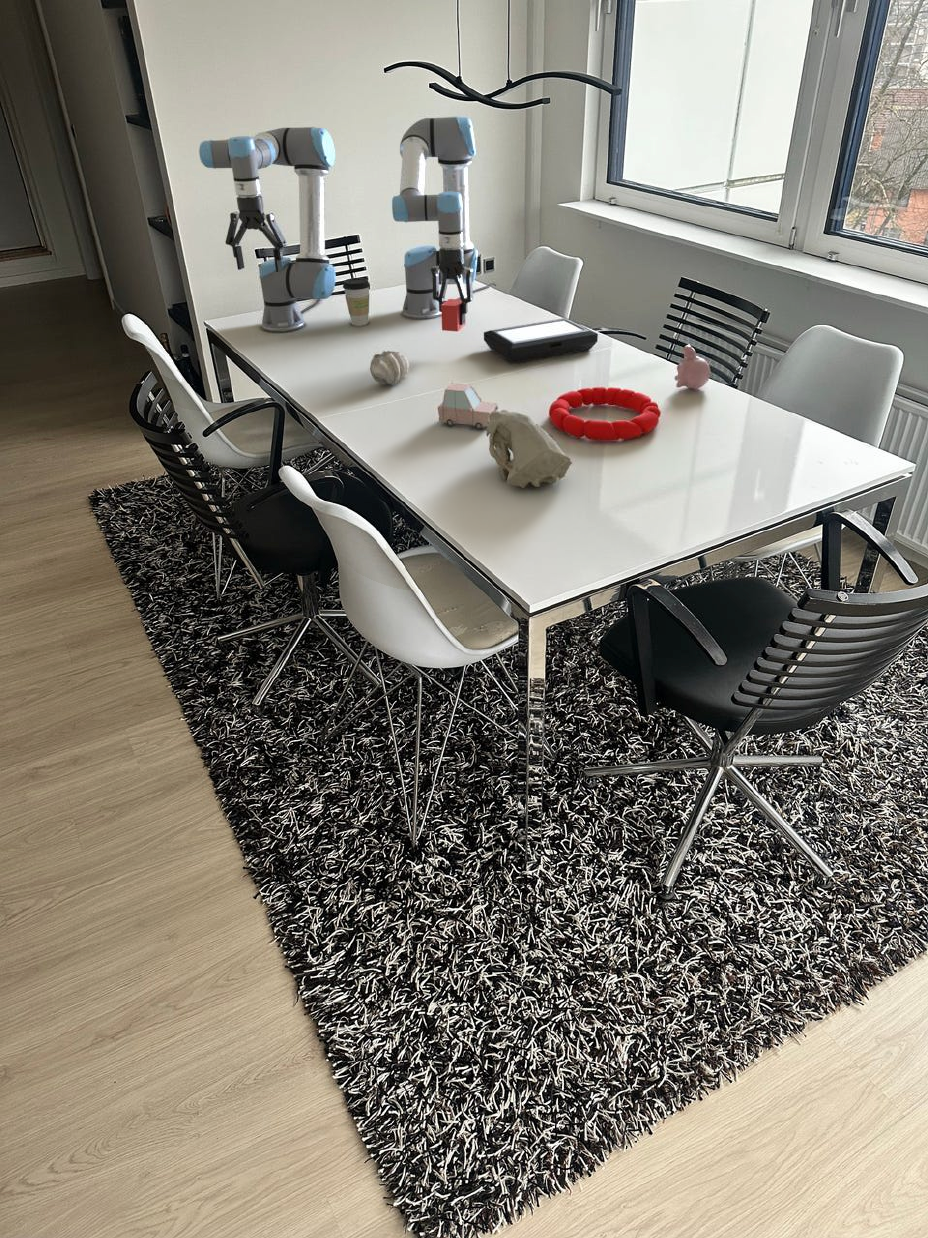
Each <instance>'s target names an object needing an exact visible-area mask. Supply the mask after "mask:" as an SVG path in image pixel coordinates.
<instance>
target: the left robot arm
mask: <svg viewBox="0 0 928 1238" xmlns="http://www.w3.org/2000/svg"><path fill="white" fill-rule="evenodd" d="M328 131H329V130H327V129H325V128H323V127H314V126H310V127H309V126H308V127H307V126H306V127H280V128H275V129H271V130H270V129H269V130H267V131H261V132H258V133H257V134H255V136H248V135H241V136H240V135H239V136H232V137H230V138H227V139H220V140H219V139H218V140H212V139H209V140H203V141H202V142H200V145H199V149H198V153H199V154H198V155H199V159H200V162H201V164H202V165H203V167H205V168H207V169H214V170H215V169H231V171H232V178H233V185H234V192H235V195H236V196H237V197H236V204H237V209H238V211H239V212H237V211H233V212H231V213H230V214H229V217H230V218H229V219H230V220H229V221H230V222H229V226H228V229H227V234H226V238H225V245H227V246H230V247H231V249H232V256H233V258H235V261H236V267H237V270H238V271H241V270H243V269H245V262H244V257H243V250H242V245H240V242H241V241H242V239H243V237H244V235H245V233H246V231H247V230H254V231H255V230H258V231H260V232H261V233H262V234H263V235H264V237H265V238H266V239H267V240H268V242H269V243H270V244H271V245H272V246H273V247H274V249H272V252H273V253H272V254H273V259H268V260H266V261H263V262H261V263H260V265H259V266H258V273H259V274H258V275H259V281H260V287H261V292H262V293H261V294H262V299H263V313H262V319H261V326H262V330H264V331H265V332H271V333H286V332H293V331H296V330H297V331H298V330H300V329H302V328H304V326H305V319H304V317H303V313H305V312H307V311H308V310H310V309H312V308H314V307H316V305H318V304H319V303H320V301H321V300H326V299H329V298H330V297H331V296H332V294H333V292H334V290H335V286H336V279H337V278H336V277H337V275H336V269H335V266H334V265H333V264H331V263H330V258H329V257H328V256H327V255H326V227H325V226H326V221H325V219H326V218H325V215H326V214H325V207H326V206H325V178H326V177H327V176H328V175H329V171H330V170H329V169H330V168H332V167H333V166H334V164H335V161H336V150H335V145H334V141H333V139H332V136H331V134H330V133H329V132H328ZM271 165H278V166H284V167H293V171H294V173H295V174H296V175H297V176H298V197H299V198H298V204H299V205H298V208H299V254H297V255H296V256H295V263H294V262H293V260H292V259H291V257H287V256H285V257H284V254H283V248H285V247H287V246H288V242H287V241H286V240H287V239H286V238H285V237H284V235H283V233H282V231H281V229H280V227H279V226H278V223H277V222H276V219H275V215H274V213H273V212H270V213H267V214H265V212H264V202H263V196H262V195H261V194H262V188H261V181H260V175H259V170H261V169H266V168H268V167H270V166H271ZM239 220H240V222H241V223H240V225H239V227H238V223H239ZM265 221H266V222H267V223H266V222H265ZM237 227H238V230H237ZM236 231H237V232H236ZM297 299H306V300H316V301H315V302H314V303H313V304H311V305H309V306H308V307H306V308H304V309H302V310H300V307H299V306H298V305H299V304H298V303H297Z"/></svg>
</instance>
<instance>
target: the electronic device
mask: <svg viewBox="0 0 928 1238" xmlns="http://www.w3.org/2000/svg"><path fill="white" fill-rule="evenodd" d="M598 337H599V333H597V332H595V331H594V330H591V329H589V328H587V327H585V326H583V325H581V324H579V323H577V322H575V321H574V320H571V319H570V318H567V317H564V318H558V319H552V320H544V321H540V322H533V323H526V324H521V325H515V326H508V327H502V328H497V329H496V328H495V329H491V330H487V331H484V332H483V341H484V343H485V344H486V345H487V346H488V348H489V349H490V350H491V351H493V352H495V353H496V354H497V355H500V356H501V357H502V358H505V359H506V360H507V361H509V362H510V363H511V364H515V363H520V362H527V361H533V360H538V359H543V358H544V359H545V358H550V357H551V358H552V357H556V356H561V355H566V354H567V355H568V354H572V353H579V352H584V351H589V350H591V349H593V347H595V345H596V344H597V343H598V341H599V340H598Z"/></svg>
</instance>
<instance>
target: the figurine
mask: <svg viewBox="0 0 928 1238" xmlns="http://www.w3.org/2000/svg"><path fill="white" fill-rule="evenodd" d="M682 354H683V358H684V359H683V361H682V362H679V363H678V364H677V365H676V372H677V375H675V376H674V381H675V382H676V381H677V382H676V384H675V386H676V388H681V387H686V388H688V389H693V390H694V389H695V390H696V389H700V388H703V387H704V386H705V385H706V384H707V383H708V382H709V379H710V377H711V367H710V364H709V362H708V361H706V359H704V358H702V357H700V356H697V353H696V350H695V349H694V347H692V345H690V344H686V345H685V346H684V347H683V348H682Z"/></svg>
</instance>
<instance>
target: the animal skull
mask: <svg viewBox="0 0 928 1238" xmlns="http://www.w3.org/2000/svg"><path fill="white" fill-rule="evenodd" d="M485 436H486V438H487V437H489V438H488V440H489V444H488V445H489V446H488V450H489V454H490V456H491V457H492V458H493V459H494V460H495V462H496V464H497V466H499V468H500V470H501V471H502V472H501V478H502V479H507V480H506V484H507V486H517V487H518V486H519V488H523V489H524V488H526V486H527V485H529V483H531V485H533V486H534V487H536V488H540V485H541V484H542V482H544V483H549V484H550V485H553V484H555V483H556V482H557V480H561V479H563V478H565V476H566V474H567V472H568V471H569V469H570V467H571V466H572V464H573V462H572V461H571V458H570V457H568V456H567V455H565V453H564V451H562V449H561V448H560V446H559V444H557V443H556V439H555V438H554V436H553V435H551V434H550V433H548V432H547V431H546V430H545V429H544V428H542V427H541V426H539V425H538V424H537V423H536V424H535V422H534V421H533V419H532V418H531V417H530V416H529V415H527V414H524V413H519V412H515V411H509V410H507V409H502V410H500V411H499V410H497V411H496V412H492V413H491V414H490V422H488V423H487V427H486V435H485ZM511 453H512V454H511ZM511 455H512V457H513V458H512V460H511ZM507 474H508V475H507Z"/></svg>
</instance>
